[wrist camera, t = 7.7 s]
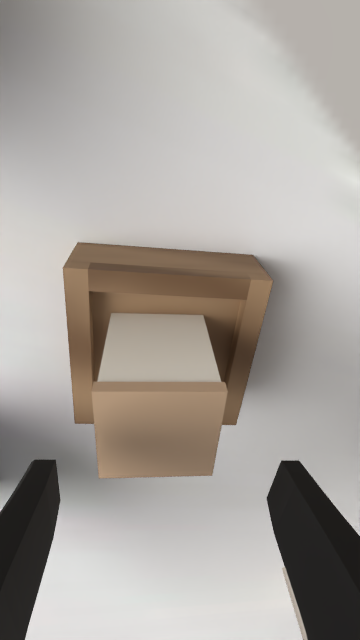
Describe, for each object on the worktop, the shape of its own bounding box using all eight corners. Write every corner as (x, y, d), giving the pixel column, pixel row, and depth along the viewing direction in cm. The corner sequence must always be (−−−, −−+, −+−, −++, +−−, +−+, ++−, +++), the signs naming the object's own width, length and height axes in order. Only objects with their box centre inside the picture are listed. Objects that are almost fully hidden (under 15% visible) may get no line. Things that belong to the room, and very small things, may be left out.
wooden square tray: (223, 381, 23) (236, 424, 19) (86, 377, 22) (74, 423, 18) (250, 252, 18) (273, 281, 15) (79, 239, 17) (62, 267, 14)
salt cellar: (196, 385, 19) (212, 475, 14) (112, 385, 18) (98, 478, 14) (205, 313, 16) (227, 391, 12) (109, 310, 16) (91, 391, 11)
